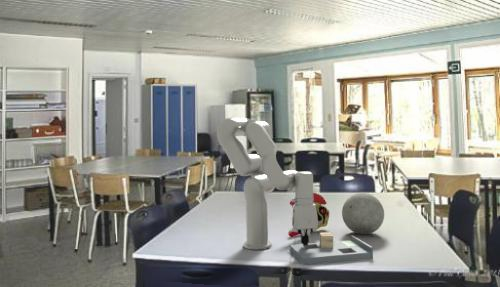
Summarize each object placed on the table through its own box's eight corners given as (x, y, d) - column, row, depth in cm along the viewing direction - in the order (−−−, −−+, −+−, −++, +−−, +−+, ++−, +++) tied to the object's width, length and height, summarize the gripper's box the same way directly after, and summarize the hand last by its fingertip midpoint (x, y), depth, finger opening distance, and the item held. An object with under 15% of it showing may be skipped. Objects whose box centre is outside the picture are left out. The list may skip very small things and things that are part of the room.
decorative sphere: (385, 230, 208) (385, 190, 207) (382, 241, 190) (382, 197, 189) (345, 227, 216) (345, 189, 215) (338, 237, 197) (338, 195, 196)
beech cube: (319, 244, 179) (319, 232, 178) (331, 244, 179) (331, 232, 178) (321, 247, 174) (321, 235, 174) (333, 247, 174) (333, 235, 173)
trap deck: (290, 250, 179) (289, 240, 178) (353, 245, 184) (352, 235, 184) (303, 264, 161) (303, 253, 161) (372, 258, 167) (372, 247, 166)
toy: (283, 236, 202) (283, 195, 201) (322, 227, 218) (322, 189, 217) (294, 239, 196) (293, 197, 195) (333, 229, 212) (332, 190, 211)
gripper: (289, 204, 169) (290, 248, 170) (324, 201, 172) (325, 245, 173) (284, 200, 176) (285, 243, 177) (318, 198, 179) (318, 240, 180)
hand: (305, 244), depth 175 cm, fingers closed
